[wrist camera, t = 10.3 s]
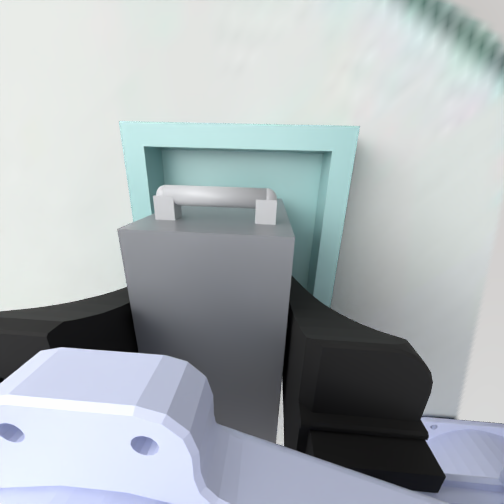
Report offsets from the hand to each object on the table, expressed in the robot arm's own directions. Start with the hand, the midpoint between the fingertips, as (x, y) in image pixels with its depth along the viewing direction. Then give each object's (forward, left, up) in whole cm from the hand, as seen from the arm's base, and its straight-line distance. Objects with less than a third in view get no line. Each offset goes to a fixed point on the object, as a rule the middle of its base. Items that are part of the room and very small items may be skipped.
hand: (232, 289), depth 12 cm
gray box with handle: (0, 0, -2) cm, 2 cm away
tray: (0, -1, -4) cm, 4 cm away
